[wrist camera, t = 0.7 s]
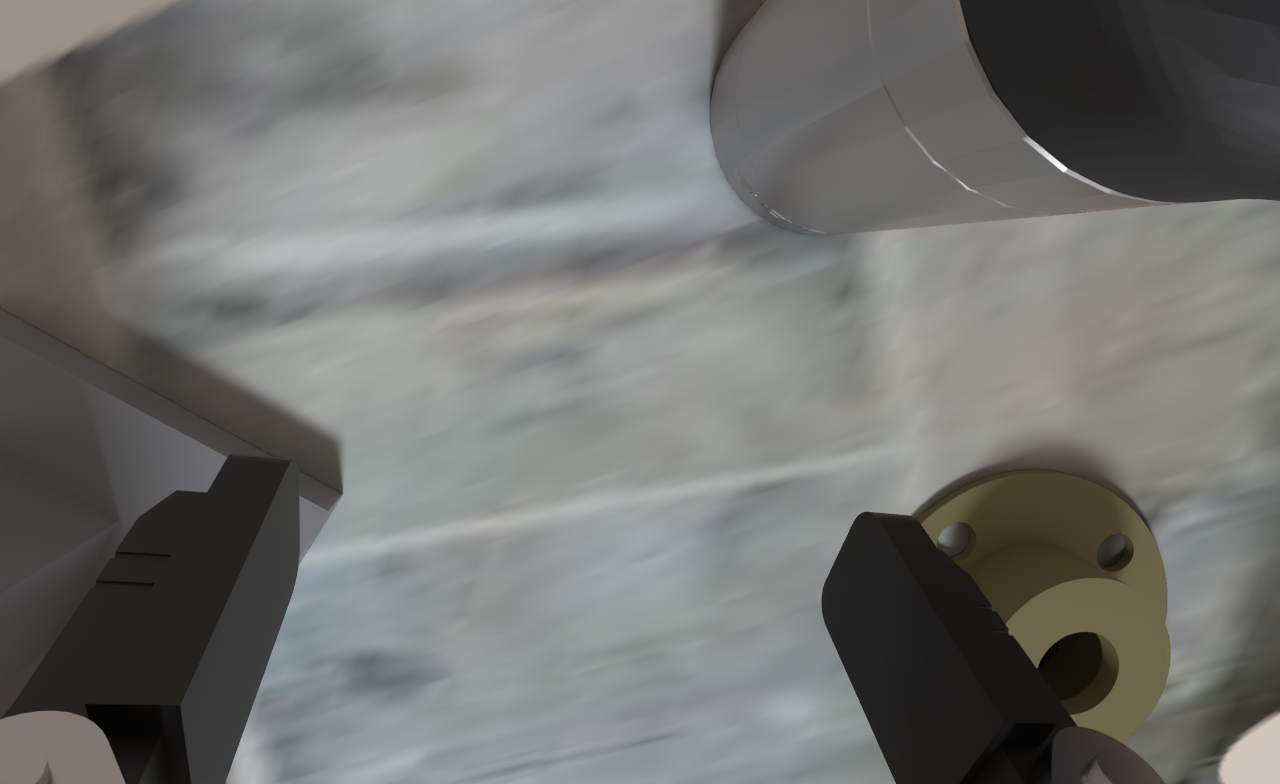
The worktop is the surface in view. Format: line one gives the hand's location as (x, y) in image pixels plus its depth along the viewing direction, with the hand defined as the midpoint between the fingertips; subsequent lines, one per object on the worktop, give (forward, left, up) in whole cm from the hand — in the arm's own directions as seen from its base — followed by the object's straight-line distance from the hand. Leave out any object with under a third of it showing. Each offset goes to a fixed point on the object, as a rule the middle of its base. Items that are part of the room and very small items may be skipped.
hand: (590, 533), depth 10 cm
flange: (-1, +25, -20) cm, 32 cm away
